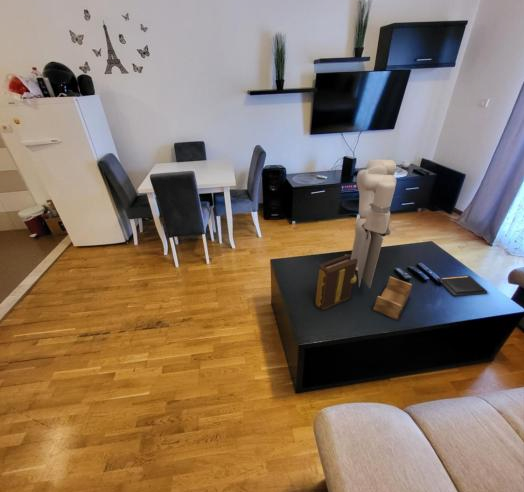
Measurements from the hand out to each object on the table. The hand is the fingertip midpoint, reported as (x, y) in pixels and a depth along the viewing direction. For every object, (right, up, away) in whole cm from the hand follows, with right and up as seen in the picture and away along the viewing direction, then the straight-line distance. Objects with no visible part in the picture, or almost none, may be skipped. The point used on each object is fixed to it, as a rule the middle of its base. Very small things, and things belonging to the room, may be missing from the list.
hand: (372, 241), depth 136 cm
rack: (+13, -32, +9) cm, 36 cm away
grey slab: (0, -20, +14) cm, 24 cm away
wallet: (+57, -24, +19) cm, 65 cm away
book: (-16, -31, +13) cm, 37 cm away
